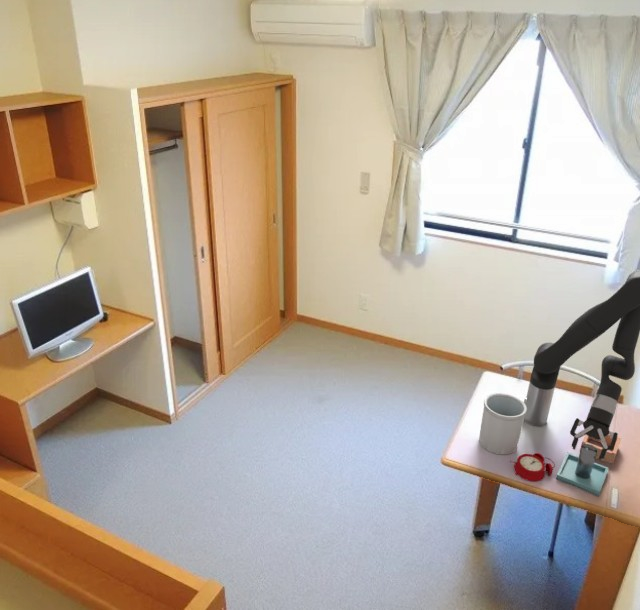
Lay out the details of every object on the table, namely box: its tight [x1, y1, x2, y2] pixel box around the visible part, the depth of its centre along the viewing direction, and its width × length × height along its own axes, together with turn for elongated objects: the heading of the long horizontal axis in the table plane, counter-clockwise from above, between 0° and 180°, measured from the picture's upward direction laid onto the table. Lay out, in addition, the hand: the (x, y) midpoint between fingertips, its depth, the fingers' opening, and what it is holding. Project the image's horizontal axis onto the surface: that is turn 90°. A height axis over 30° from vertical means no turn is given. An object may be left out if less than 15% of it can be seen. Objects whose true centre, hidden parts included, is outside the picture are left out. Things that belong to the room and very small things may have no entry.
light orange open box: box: [579, 434, 622, 464], centre depth 217 cm, size 11×11×4 cm
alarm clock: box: [509, 452, 556, 482], centre depth 206 cm, size 10×6×15 cm
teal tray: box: [555, 452, 610, 497], centre depth 205 cm, size 14×14×2 cm
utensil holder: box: [479, 392, 527, 455], centre depth 216 cm, size 15×15×18 cm
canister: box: [575, 444, 597, 479], centre depth 203 cm, size 5×5×11 cm
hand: (586, 454), depth 201 cm, fingers open, 8 cm apart
